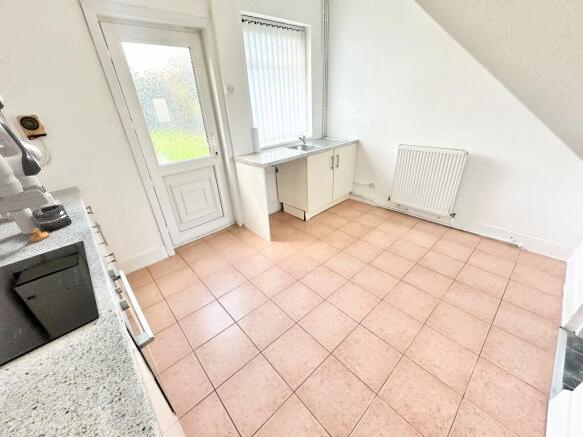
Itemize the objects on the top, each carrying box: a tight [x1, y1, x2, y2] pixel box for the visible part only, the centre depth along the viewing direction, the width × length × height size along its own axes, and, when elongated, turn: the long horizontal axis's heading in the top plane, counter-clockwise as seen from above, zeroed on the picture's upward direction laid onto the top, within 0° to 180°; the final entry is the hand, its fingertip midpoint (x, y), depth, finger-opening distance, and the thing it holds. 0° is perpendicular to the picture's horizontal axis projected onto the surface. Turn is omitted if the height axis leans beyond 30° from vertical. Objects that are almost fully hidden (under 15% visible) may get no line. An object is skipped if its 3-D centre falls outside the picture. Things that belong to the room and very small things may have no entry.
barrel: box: [32, 203, 73, 233], centre depth 126 cm, size 12×12×10 cm
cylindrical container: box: [8, 208, 42, 235], centre depth 119 cm, size 7×7×25 cm
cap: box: [28, 228, 50, 243], centre depth 116 cm, size 7×7×5 cm
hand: (27, 217), depth 111 cm, fingers open, 8 cm apart
